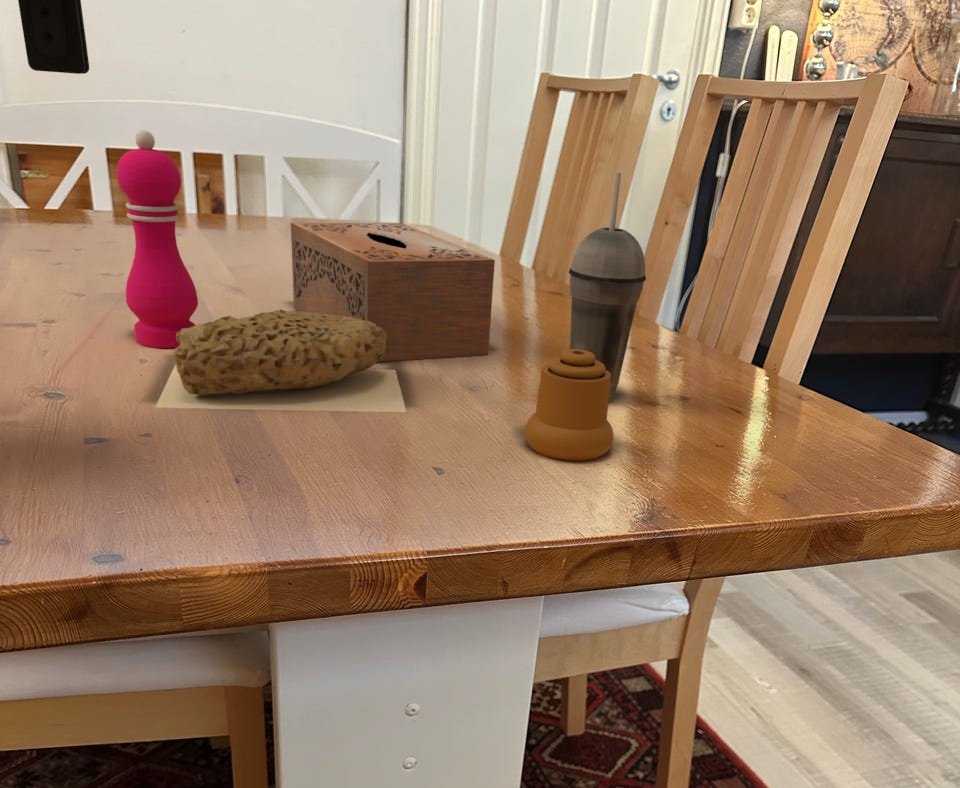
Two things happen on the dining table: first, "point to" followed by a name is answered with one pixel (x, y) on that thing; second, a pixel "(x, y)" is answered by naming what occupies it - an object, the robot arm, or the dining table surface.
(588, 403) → the ornamental finial
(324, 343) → the sponge
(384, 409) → the board
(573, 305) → the beverage cup
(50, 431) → the dining table surface
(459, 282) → the tissue box cover
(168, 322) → the pepper mill
